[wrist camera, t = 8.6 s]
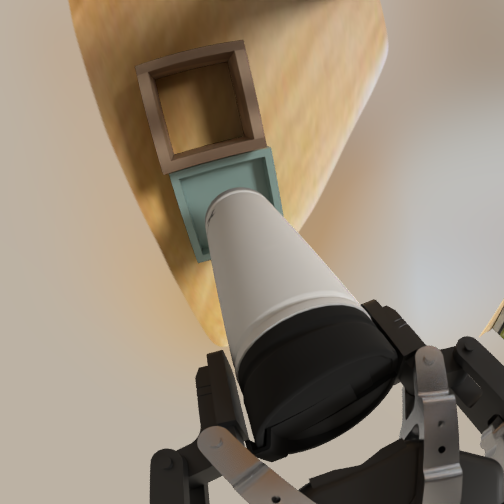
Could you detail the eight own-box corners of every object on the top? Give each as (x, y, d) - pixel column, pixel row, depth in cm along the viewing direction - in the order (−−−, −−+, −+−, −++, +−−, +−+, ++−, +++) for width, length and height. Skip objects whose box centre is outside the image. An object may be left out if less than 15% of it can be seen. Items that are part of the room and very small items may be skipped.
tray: (170, 169, 28) (169, 174, 26) (264, 145, 29) (270, 147, 27) (197, 253, 33) (197, 263, 31) (280, 229, 34) (287, 237, 32)
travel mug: (188, 212, 24) (208, 442, 7) (252, 173, 24) (415, 334, 6) (223, 263, 27) (286, 470, 10) (282, 228, 27) (413, 403, 9)
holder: (143, 74, 22) (134, 66, 18) (234, 51, 23) (243, 39, 19) (167, 166, 28) (163, 174, 23) (255, 142, 29) (267, 147, 24)
